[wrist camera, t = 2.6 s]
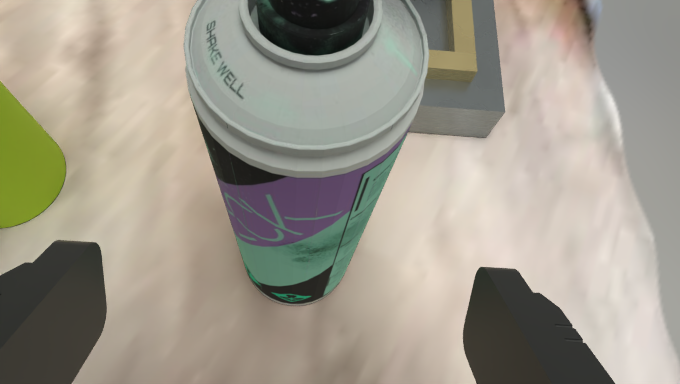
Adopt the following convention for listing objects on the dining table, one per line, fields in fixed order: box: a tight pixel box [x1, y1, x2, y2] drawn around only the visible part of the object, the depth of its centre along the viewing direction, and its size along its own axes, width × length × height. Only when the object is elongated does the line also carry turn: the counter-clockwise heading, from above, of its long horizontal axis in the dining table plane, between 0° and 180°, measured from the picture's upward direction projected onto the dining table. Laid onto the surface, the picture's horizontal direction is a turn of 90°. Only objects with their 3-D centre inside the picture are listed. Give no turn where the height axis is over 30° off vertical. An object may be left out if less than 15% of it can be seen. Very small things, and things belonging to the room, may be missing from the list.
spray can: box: [184, 0, 429, 306], centre depth 18 cm, size 6×6×20 cm
